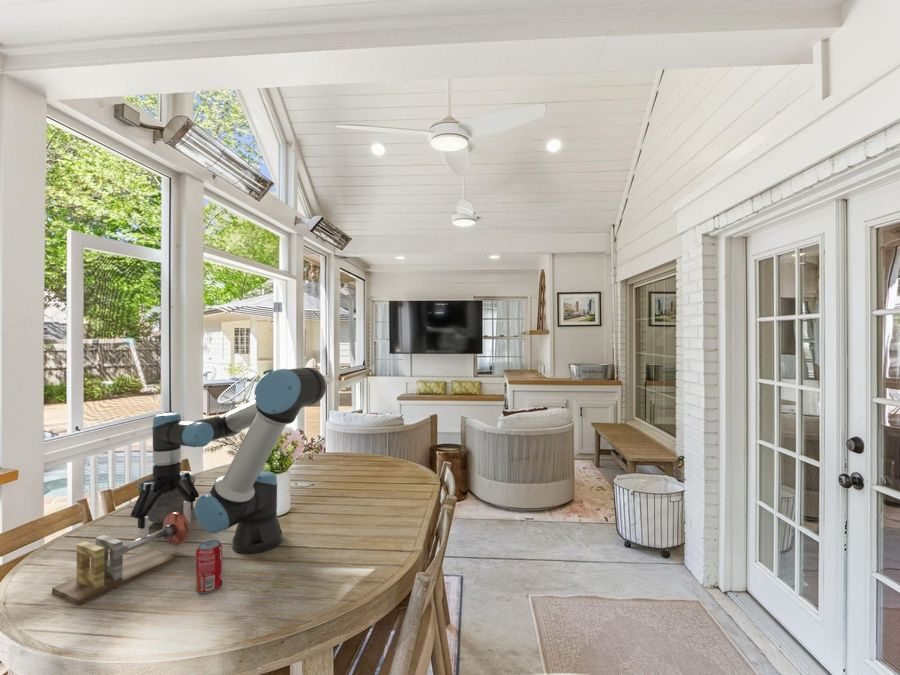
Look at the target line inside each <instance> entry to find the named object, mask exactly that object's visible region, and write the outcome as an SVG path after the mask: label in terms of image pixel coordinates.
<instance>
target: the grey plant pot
mask: <svg viewBox="0 0 900 675" xmlns="http://www.w3.org/2000/svg"><path fill="white" fill-rule="evenodd" d="M153 479H154V478H153V477H150V478H147V479H145V480H142V481H139V482H138V483H137V485H136V487H137V490H138V494H139V495H140V493H141V490H142V484H143V483H152V482H153ZM190 479H191V481H192V483H193V485H194V486H195V482H196V476H194V475H192V476H191V475H190ZM179 484H180V485H181V486H182V488H183V489H185V490H186V491H187V492H188V493H189V491H188V490H187V488H186V486H185V484H184V482H183V481H182V480H180V481H179ZM153 489H154V487H152V489H151V490H150V493H149V496H150V495H151V492H152V490H153ZM157 492H158V491H157ZM157 492H156V493H157ZM189 494H190V493H189ZM149 496H148V498H149ZM148 498H147V499H148ZM146 501H147V500H146ZM184 501H187V500H186V499H185V498H183V497H182V496H181V495H180V494H179V493H178V492H177V491H176V490H174V491H169V492H167V493H164V494H163V493H162V495H161V496H160V497H158V499H157V500H156V502H155V503H154V505H153V506H152V508H151V509H150V511H149V512H148V514H147V515H146V516H147V517H148V522H151V523H154V524H162V525H163V523H164V519H165V517H166V516H167V515H168V514H170V513H173V512H177V511H178V512H181V513H182V514H183V504H184Z"/></svg>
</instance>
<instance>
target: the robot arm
mask: <svg viewBox="0 0 900 675" xmlns="http://www.w3.org/2000/svg"><path fill="white" fill-rule="evenodd" d="M326 391H327V382H326V379H325V376H324V375H323V374H322V373H321V372H320V371H319V370H317V369H315V368H314V367H299V368H290V369H289V368H280V369H275V370H272V371H269V372H266V373H265V374H264V375H263V376H262V377H260V378H259V380H258V381H257V383H256V385H255V389H254V395H255V397H254V400H251V401H249V402H247V403H244V404H243V405H241V406H238V407H236V408H234V409H232V410H230V411H227V412H225V413H223V414H220V415H217V416H213V417H208V418H207V417H206V418H202V419H197V420H191V421H189V420H188V421H187V420H182V416H181V414H180V413H179V412H165V413H159V414H156V415H154V417H153V418H152V428H151V430H152V463H153V465H152V478H154V479H153V482H152V483H143V484H142V490H141V493H140V494H139V496H138V498H137V500H136V501H135V502H136V503H134V506H133V508H132V510H131V512H130V517H131V518H135V519H137V528H138V529H139V530H140V531H139V532H140V537H139V539H140V538H142V537H145V536H148V535H149V520H148V517H147V516H146V515H147V514H148V512H149V511H150V509H151V508H152V506H153V505H154V503H155V502H156V500H157V499H158V497H160V496H161V495H162V493H163V494H164V493H167V492H169V491H174V490H176V491H177V492H178V493H179V494H180V495H181V496H182V497H183V498H185V499H186V500H187V501H184V504H183V515H184V516H185V517H186V519H187V521H188V524H190V523H192V511H193V510H194V515H195V518H196V521H197V523H198V525H199V526H200V528H201V529H203V530H204V531H205V532H206V533H207V532H208V533H210V534H219V533H220V532H223V531H227V530H228V529H230V528H231V527H234V526H235V525H236V528H235V532H234V536H233V537H232V541H231V542H232V544H231V545H232V546H231V547H232V550H233V551H234V552H236V553H239V554H256V553H261V552H266V551H268V550H271V549H274V548H276V547H278V546H279V545H280V544H281V543H282V541H283V531H282V529H281V525H280V522H279V520H278V514H277V513H278V511H277V510H278V479H277V475H276V474H275V473H274V472H273V471H268V470H263V469H264V466H265V465H266V462H267V461H268V459H269V457H270V455H271V453H272V451H273V449H274V447H275V446H276V444H277V443H278V440H279V438H280V437H281V435H282V433H283V431H284V430H285V427H286V425H289V424H292V423H294V421H295V420H296V419H297V417H298V414H299V412H300V411H301V409H302V408H304V407H305V408H306V407H309V406H313V405H315V404H317V403H319V402H320V401H321V400H322V399H323V397H324V395H325V394H326ZM246 429H248V430H247V432H246V434H245V436H244V438H243V439H242V442H241V443H240V446H239V448H238V450H237V451H236V454H235V455H234V457H233V459H232V461H231V463H230V465H229V466H228V468H227V470H226V472H225V474H224V475H221V476H219V477H218V478H216V480H215V482H214V484H213V486H212V488H211V490H210V491H209V492H208V493H204V494H203V495H201V496H200V495H199V492H198V491H197V488H196V486H195V484H194V485H193V483H192V481H191V479H190V473H187V472H182V474H180V472H181V470H182V469H181V467H182V466H181V465H182V463H181V461H180V460H182V459H181V458H182V456H181V455H182V451H181V450H182V449H181V448H182V447H190V448H203V447H206V446H208V445H209V444H210V443H211V442H213V441H217V440H220V439H224V438H230V437H233V436H236V435H238V434H239V433H241V432H242V431H243V430H246ZM180 480H182V481H183V482H184V484H185V486H186V488H187V490H188V491H189V493H190V494H189V493H188V492H187V491H186V490H185V489H183V488H182V486H181V485H180V484H179V481H180ZM152 487H154V489H153V490H152V492H151V495H150V496H149V493H150V490H151V489H152ZM157 491H158V492H157ZM156 492H157V493H156ZM148 496H149V498H148ZM147 498H148V499H147ZM196 499H197V500H196ZM146 500H147V501H146ZM194 502H195V503H194Z"/></svg>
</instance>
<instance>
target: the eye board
mask: <svg viewBox="0 0 900 675" xmlns="http://www.w3.org/2000/svg"><path fill="white" fill-rule="evenodd" d="M123 545H124V543H123V540H120V539H117V538H115V537H112V536H108V535H105V534H103V535H100V536H97V537H95V543H91V542H89V541H82V542H79V543H77V544H76V577H75V578H72V579H70V580H68V581H65V582H64V583H62V584H58V585H56V586H53V587H52V588H51V591H52V592H51V593H52V594H54V595H57V596H59V597H62V598H63V599H66V600H67V601H70V602H73V603H75V604H76V605H78V606H81V605H83V604H84V603H88V602H89V601H91V600H94V599H96V598H98V597H100V596H103V595H105V594H107V593H109V592H111V591H113V590H116V589H118V588H119V587H123V586H124V585H127V584H128V583H132V582H133V581H135V580H138V579H140V578H142V577H145V576H146V575H148V574H150V573H153V572H155V571H157V570H160V569H162V568H164V567H167V566H168V565H170V564H173V563H175V562H176V561H177V560H178V559H177V558H178V557H177V556H175V555H172V554H169V553H166V552H164V551H161V550H157V549H155V548H151V547H150V548H147V549H143V550H142V551H140V552H137V553H135V554H132V555H129V556H128V557H125V558H123V554H124V553H123Z"/></svg>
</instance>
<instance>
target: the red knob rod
mask: <svg viewBox="0 0 900 675" xmlns="http://www.w3.org/2000/svg"><path fill="white" fill-rule="evenodd" d="M189 535H190V527H189V523H188V521H187V519H186V517H185V516H184V515H183V514H182V513H181V512H178V511H177V512H173V513H170V514H168V515H167V516H166V517H165V519H164V523H163V524H162V527H161V529H160V530H159V531H155V532H153V533H151V534H148V536H145V537H142V538H140V537H139V538H137V539H135V540H132V541H130V542H127V543H123V554H125V553H128V552H130V551H132V550H135V549H137V548H140V547H142V546H145V545H148V544H150V543H152V542H155V541H158V540H160V539H162V538H163V539H165V540H166V541H167V543H168V544H170V545H171V546H174V547H175V546H179V545H182V544H183V543H185V542H186V541H187V540H188V538H189Z"/></svg>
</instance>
